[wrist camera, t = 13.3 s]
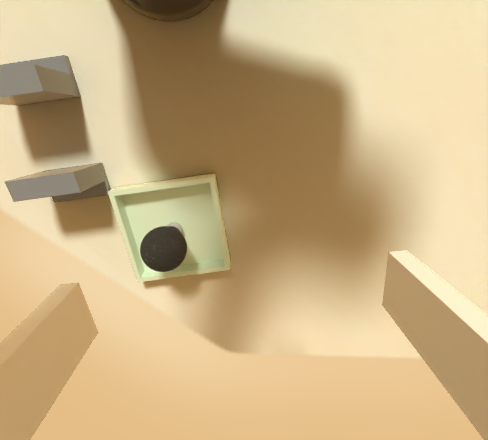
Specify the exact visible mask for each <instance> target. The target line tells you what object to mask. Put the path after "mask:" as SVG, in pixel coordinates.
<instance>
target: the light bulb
mask: <svg viewBox="0 0 488 440" xmlns="http://www.w3.org/2000/svg"><path fill="white" fill-rule="evenodd" d="M182 233H183V229H182V226H181V225H180V224H179V223H176V222H172V223H169V224H168V225H167V226H161V227H157V228H154V229H153V230H151V231H150V232H148V233H147V234H146V235H145V237H144V238H143V240H142V242H141V246H140V254H141V258H142V260H143V262H144V263H145V264H146V266H148V267H149V268H150V269H152V270H154V271H158V272H167V271H171V270H174V269H175V268H177V267H178V266H179V265H181V263H182V262H183V260H184V259H185V257H186V253H187V243H186V240H185V238H184V236H183V235H182Z"/></svg>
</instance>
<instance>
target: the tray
mask: <svg viewBox="0 0 488 440" xmlns="http://www.w3.org/2000/svg"><path fill="white" fill-rule="evenodd" d="M108 195H109V198H110V201H111V204H112V207H113V210H114V213H115V216H116V219H117V222H118V225H119V228H120V231H121V234H122V238H123V241H124V244H125V247H126V250H127V253H128V256H129V259H130V262H131V265H132V268H133V271H134V274H135V277H136V280H137V282H144V281H151V280H159V279H166V278H174V277H181V276H189V275H196V274H204V273H211V272H219V271H226V270H230V266H231V260H230V255H229V249H228V243H227V238H226V232H225V226H224V220H223V215H222V209H221V203H220V197H219V192H218V186H217V180H216V174H215V173H212V174H205V175H198V176H191V177H184V178H177V179H170V180H162V181H155V182H148V183H141V184H134V185H127V186H120V187H115V188H113V189H111V190H110V191H108ZM172 222H176V223H179V224H180V225H181V226H182V229H183V233H182V235H183V236H184V238H185V240H186V243H187V253H186V257H185V259H184V260H183V262H182V263H181V265H179V266H178V267H177V268H175V269H174V270H171V271H167V272H158V271H154V270H152V269H150V268H149V267H148V266H146V264H145V263H144V262H143V260H142V258H141V254H140V246H141V242H142V240H143V238H144V237H145V235H146V234H147V233H148V232H150V231H151V230H153V229H154V228H157V227H161V226H167V225H168V224H169V223H172Z"/></svg>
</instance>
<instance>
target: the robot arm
mask: <svg viewBox="0 0 488 440" xmlns="http://www.w3.org/2000/svg"><path fill="white" fill-rule="evenodd" d="M123 1H124V2H125V3H127V4H128V5H129V6H130V7H132V8H133V9H134V10H136V11H137V12H139V13H141V14H143V15H145V16H147V17H150V18H153V19H156V20H161V21H179V20H183V19H187V18H189V17H192V16H194V15H196V14H198V13H199V12H201V11H202V10H203V9H205V8H206V7H207V6H208V5H209V4H210V3H211V2H212V1H213V0H123ZM382 305H383V307H384V308H385V309H386V311H387V312H388V313H389V315H390V316H391V317H392V319H393V320H394V321H395V323H396V324H397V325H398V327H399V328H400V329H401V330H402V332H403V333H404V334H405V336H406V337H407V338H408V340H409V341H410V342H411V344H412V345H413V346H414V348H415V349H416V350H417V352H418V353H419V354H420V356H421V357H422V358H423V360H424V361H425V362H426V364H427V365H428V366H429V367H430V369H431V370H432V371H433V373H434V374H435V375H436V377H437V378H438V379H439V381H440V382H441V383H442V384H443V386H444V387H445V389H446V390H447V391H448V393H449V394H450V395H451V397H452V398H453V399H454V401H455V402H456V403H457V405H458V406H459V407H460V409H461V410H462V411H463V412H464V414H465V415H466V416H467V418H468V419H469V420H470V422H471V423H472V424H473V426H474V427H475V428H476V430H477V431H478V432H479V434H480V435H481V436H482V438H483V439H484V440H488V315H487V314H485V313H484V312H483V311H482V310H480V309H479V308H478V307H477V306H475V305H474V304H473V303H472V302H470V301H469V300H468V299H467V298H466V297H464V296H463V295H462V294H461V293H459V292H458V291H457V290H456V289H454V288H453V287H452V286H451V285H449V284H448V283H447V282H446V281H444V280H443V279H442V278H441V277H440V276H438V275H437V274H436V273H435V272H433V271H432V270H431V269H430V268H428V267H427V266H426V265H425V264H423V263H422V262H421V261H420V260H418V259H417V258H416V257H415V256H414V255H412V254H411V253H410V252H409V251H407V250H405V251H395V252H389V253H388V262H387V270H386V278H385V287H384V295H383V304H382ZM97 334H98V331H97V328H96V326H95V323H94V321H93V318H92V315H91V313H90V310H89V308H88V305H87V303H86V300H85V298H84V295H83V293H82V290H81V288H80V285H79V283H71V284H61V285H60V286H59V287H58V288H57V289H56V290H55V291H54V292H53V293H51V295H50V296H48V298H46V299H45V300H44V301H43V302H42V303H41V304H40V305H39V306H38V307H37V308H36V309H35V310H34V311H33V312H32V313H31V314H30V315H29V316H28V317H27V318H26V319H25V320H24V321H23V322H22V323H21V324H20V325H19V326H18V327H17V328H16V329H15V330H14V331H12V333H10V334H9V335H8V336H7V337H6V338H5V339H4V340H3V341H2V342H1V343H0V440H30V439H31V438H32V436H33V435H34V433H35V432H36V430H37V429H38V427H39V425H40V423H41V422H42V421H43V419H44V417H45V416H46V414H47V413H48V411H49V410H50V408H51V406H52V405H53V403H54V401H55V400H56V398H57V397H58V395H59V394H60V392H61V391H62V389H63V387H64V386H65V384H66V382H67V381H68V379H69V378H70V376H71V375H72V373H73V371H74V370H75V368H76V367H77V365H78V364H79V362H80V360H81V359H82V357H83V356H84V354H85V353H86V351H87V349H88V348H89V346H90V345H91V343H92V341H93V340H94V338H95V337H96V335H97Z"/></svg>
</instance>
